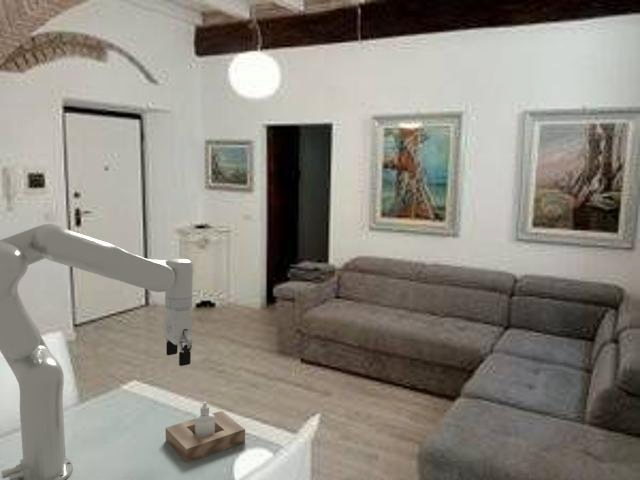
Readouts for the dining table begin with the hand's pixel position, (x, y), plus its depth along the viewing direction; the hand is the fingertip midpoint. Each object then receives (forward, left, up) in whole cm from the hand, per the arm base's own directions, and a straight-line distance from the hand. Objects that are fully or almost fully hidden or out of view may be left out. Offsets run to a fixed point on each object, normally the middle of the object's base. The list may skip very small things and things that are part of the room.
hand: (178, 359), depth 153 cm
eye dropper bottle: (+4, -9, -23) cm, 25 cm away
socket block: (+4, -9, -23) cm, 25 cm away
